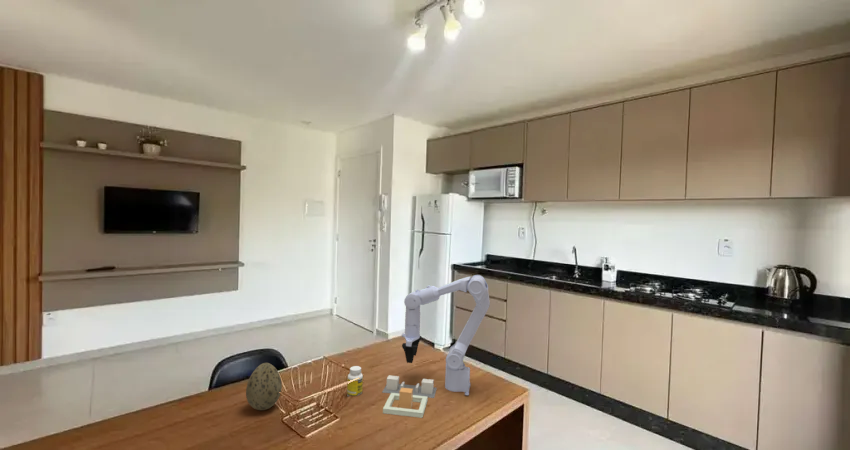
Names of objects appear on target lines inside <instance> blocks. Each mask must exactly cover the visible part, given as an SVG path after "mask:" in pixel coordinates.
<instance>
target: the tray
mask: <svg viewBox="0 0 850 450" xmlns="http://www.w3.org/2000/svg"><path fill="white" fill-rule="evenodd" d="M428 400H429V399H428V397H427V396H418V395H413V403H420V404H419V408H418V409H414V408H411V409H406V408H399V407H397V406H393V404H394V401H399V393H389V396H388V398H387V400H386V402H385V404H384V406H383V408H382V414H387V415H394V416H395V415H396V416H402V417H411V418H413V417H414V418H420V419H422V418H423V417H424V414H425V411H426V406H427V403H428Z"/></svg>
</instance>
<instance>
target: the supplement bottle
mask: <svg viewBox="0 0 850 450" xmlns="http://www.w3.org/2000/svg"><path fill="white" fill-rule="evenodd" d="M358 377H359V378H360V379H358V380H355V381H353V382H351V383H349V384H346V385H347V387H346V388H347V389H346V395H347V397H358V396H360V395H362V394H363V383H364V382H363V381H364V378H363V377H364V376H363V373H362V367H361V366H359V365H353V366H351V367H350V368H349V374H347V381H350V380H353V379H355V378H358Z"/></svg>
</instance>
